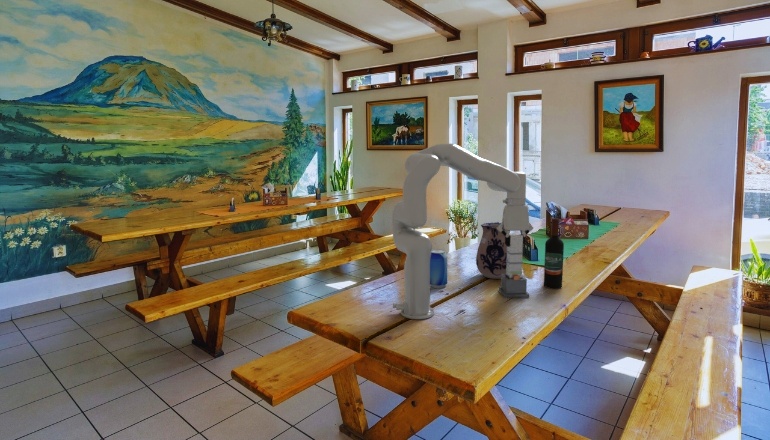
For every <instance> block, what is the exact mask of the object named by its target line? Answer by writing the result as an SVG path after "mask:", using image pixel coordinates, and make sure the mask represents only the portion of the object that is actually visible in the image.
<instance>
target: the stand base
mask: <svg viewBox="0 0 770 440" xmlns="http://www.w3.org/2000/svg"><path fill="white" fill-rule="evenodd" d="M500 282H501V283H500V285H501V286H498V292H499V293H500V294H501V296H502V297H503V299H528V298H530V294H529V293H528V291H527V288H528V286H527V283H528V279H527V278H526V276H524V275H523V274H522V278H520V276H519V275H515V276H513V279H510V278H509V277H508V276H507V275H506V274H502V275H501V281H500Z"/></svg>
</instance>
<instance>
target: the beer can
mask: <svg viewBox="0 0 770 440" xmlns="http://www.w3.org/2000/svg"><path fill="white" fill-rule="evenodd" d="M447 285H448V255H447V253H446V250H444V249H437V248H436V249H435V248H434V249H432V251H431V257H430V287H432V288H435V289H441V288H445V287H446V286H447Z"/></svg>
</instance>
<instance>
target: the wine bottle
mask: <svg viewBox="0 0 770 440" xmlns="http://www.w3.org/2000/svg"><path fill="white" fill-rule="evenodd" d="M559 225H560V219H559V218H558V217H557V218H556V217H555V218H553V217H552V219H551V234H550V235H551V236H550V237H549V238H548V239H547V240H546V241H545V245H544V247H545V248H544V268H543V269H544V271H543V272H544V273H543V286H544V288H548V289H553V290H554V289H555V290H557V289H561V287H562V288H563V272H564V271H563V270H564V252H565V251H564V249H565V246H564V245H565V243H564V241H563V240H562V239H561V238H560V237H559Z"/></svg>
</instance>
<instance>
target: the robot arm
mask: <svg viewBox="0 0 770 440" xmlns="http://www.w3.org/2000/svg"><path fill="white" fill-rule="evenodd" d="M441 167H448V168H450V169H452V170H454V171H456V172H458V173H460V174H462V175H464V176H466V177H467V178H470V179H473V180H476V181H481V182H486V184H487V186H488V188H489V189H491V190H493V191H497V192H504V193H505V194H506V197H505V199H502V203H503V204H505V205H504V207H503V211H502V212H503V213H502V218H501V219H502V220H501V221H502V222H500V223H501V224H500V225H499V226H498V227H497V230H499V231H500V232H501V233H502V234H503V235H504V236H505V244H506V246H507V247H510V237H509V234H510V233H511V231H513V232H514V231H515V232H516V231H519V232H520V234H521V235H523V247H524V245H525V244H526V243H525V241H526V239H525V238H526V236H527V235H528V234H529V233H530V232H531V231H533V229H534V227H533V225H532V224H531V223H530V215H529V214H530V213H529V207H528V205H526V199H527V198H526V195H527V193H526V192H527V191H526V190H527V174H526V172H523V171H513V170H510V169H509V168H507V167H505V166H502V165H500V164H497V163H495V162H492V161H490V160H487V159H486V158H485V159H484V158H482V157H479V156H477V155H476V154H475V153H473V152H471V151H469V150H467V149H466V148H464V147H461V146H460V145H459V144H455V143H438V144H434V145H431V146H429V147H426V148H424V149H422V150H419V151H416V152H414V153H411V154H410V155H409V156H407V158H406V160H405V162H404V169H405V170H406V172H407V175H406V177H405V179H404V182H403V185H402V200H399V201H397V202H396V203H395V205H394V206H393V208H392V212H391V223H392V224H391V227H392V240H393V244H394V246H395V248H396V249H397V250H398V251H400V252H402V253H403V254H406V258H405V262H404V266H403V277H404V278H403V279H404V280H403V281H404V282H403V284H404V285H403V286H404V299H403V301H401V302H399V303H398V302H392V309H395V310H396V311H400V314H401V316H402V317H403V318H407V319H409V320H410V319H411V320H426V319H429V318H432V317H433V316H434V315H435V310H434V308H433V307H431V288H430V287H431V286H430V257H431V251H432V250H433V242H432V240H431V238H430V236H428V235H427V234H425V233H424V232H422V231H420V230H416V229H421V228H422V227H424V226H425V225H426V223H427V220H428V208H427V207H428V205H427V189H428V185H429V183H430V181H431V180H432V179H433V178H434V177H435V176H436V175H437V174H438V173H439V171H440V169H441ZM502 227H503V228H504V229H505V231H503V230H502Z"/></svg>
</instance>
